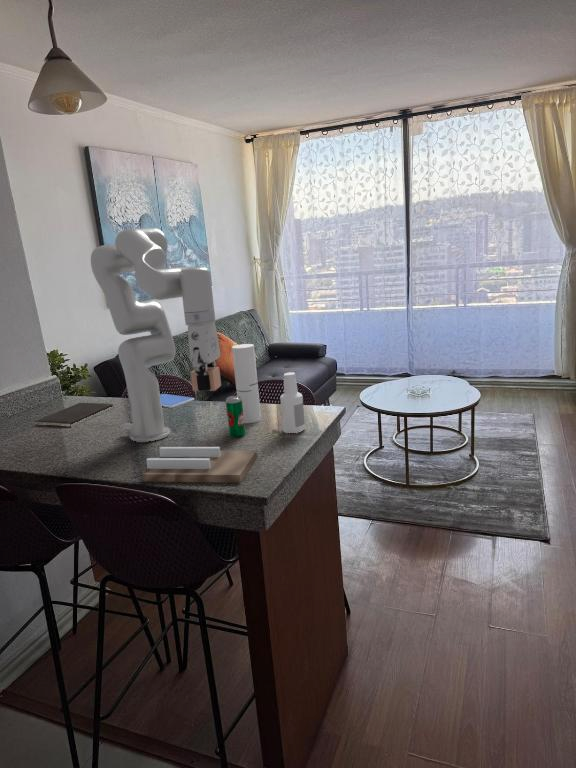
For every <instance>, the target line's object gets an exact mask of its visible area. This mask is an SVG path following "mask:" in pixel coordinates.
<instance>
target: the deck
mask: <svg viewBox="0 0 576 768" xmlns="http://www.w3.org/2000/svg"><path fill="white" fill-rule="evenodd" d="M220 453H221V456H220V457H161V456H160V457H159V458H210V464H211V468H210V469H148V468H146V470H145V471H142V473H141V478H142V479H141V480H142V482H145V483H146V482H147V481H148V482H152V483H155V482H160V483H161V482H162V483H163V482H164V483H165V482H166V483H238V484H240V483H242V482H243V480H244V478H245V477H246V475H247V474H248V472H249V471H250V470H251V468H252V467H253V465H254V463H255V461H256V460H257V458H258V453H257V450H220ZM148 482H147V483H148Z"/></svg>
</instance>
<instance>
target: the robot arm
mask: <svg viewBox="0 0 576 768" xmlns="http://www.w3.org/2000/svg"><path fill="white" fill-rule="evenodd" d="M168 247H169V246H168V239H167V237H166V234H165V233H164V232H163V231H161V230H160V229H159V228H156V227H141V228H139V227H138V228H128V229H124V230H121V231H120V232H119V233H118V234H116V237H115V239H114V243H110V244H104V245H100V246H97V247H96V248H94V249H93V250H92V252H91V254H90V267H91V270H92V274H93V276H94V278H95V280H96V282H97V284H98V285H99V287H100V289H101V290H102V292H103V294H104V297H105V300H106V303H107V306H108V309H109V312H110V317H111V319H112V322H113V324H114V325H113V326H114V328H115V330H116V332H118V334H120V335H122V336H130V335H137V334H141V333H146V332H147V333H150V334H148V335H141V336H138V337H133V338H132V337H130V338H128V339H126V340H124V341H123V342H121V343H120V344H119V347H118V349H117V354H118V359H119V361H120V364H121V367H122V370H123V374H124V378H125V383H126V389H127V396H128V402H129V408H130V414H131V421H132V423H130V422H129V423H128V422H127V423H123V424H122V431H123V432H130V433H129V440H130V439H131V440H130V441H132V440H133V441H132V442H134V441H136V442H135V443H150V442H149V441H151V442H154V441H155V440H156V441H159V440H162V439H164V438H166V437H168V436H170V434H171V429H170V427H168V426H165V421H164V420H165V419H164V412H163V407H162V405H161V398H160V394H161V393H160V386H159V380H158V379H157V377H156V375H155V374H154V373H153V372H152V371H151V370H150V369H149V368H150V367H154V366H157V365H162V364H166V363H169V362H171V361H173V360H174V359H175V356H176V353H177V352H176V351H177V350H176V344H175V340H174V336H173V334H172V332H171V328H170V325H169V324H170V323H169V322H168V318H167V315H166V313H165V310H164V308H163V306H162V305H161V304H160V303H159V302H157V301H156V300H159V301H162V300H163V301H164V300H169V299H170V300H171V299H178V298H182V305H183V313H184V322H185V326H187V338H188V349H189V350H188V351H189V358H190V362H191V363H192V366H191V367H192V368H193V370H195V372H196V376H197V385H198V390H199V391H198V392H207V391H208V392H209V390H210V389H211V387H210V379H209V375H207V367H217V363H216V362H217V360H218V359H219V358H220V357H221V350H220V348H221V347H220V343H219V337H218V330H217V327H216V314H215V304H214V296H213V288H212V287H213V286H212V279H211V272H210V270H209V268H207V267H204V266H203V267H202V266H200V267H199V266H198V267H197V266H196V267H191V266H181V267H170V268H164V267H165V264H166V260H167V258H166V257H167V256H166V253H167V252H168ZM131 272H134V275H135V280H136V283H137V284H138V286H139V288H140V289H141V290H142V291H143V292H145V294H147V295H148V296H149V297H150V298H152V299H155V300H144V301H138V300H137V298H136V295H135V292H134V289H133V287H132V286H131V284H130V283H129V282H128V281H127V280H126V279H125V278H124V277H122V276H121V275H119V273H131ZM203 368H204V369H203Z"/></svg>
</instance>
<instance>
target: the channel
mask: <svg viewBox="0 0 576 768" xmlns="http://www.w3.org/2000/svg"><path fill="white" fill-rule="evenodd" d="M158 450H159V455H160V457H220V456H221V453H220V451H221V447H220V446H161V447H159V449H158ZM160 457H150V458H149V457H147V458H146V467H147V469H210V468H211V464H210V458H160Z"/></svg>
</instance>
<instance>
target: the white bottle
mask: <svg viewBox="0 0 576 768" xmlns="http://www.w3.org/2000/svg"><path fill="white" fill-rule="evenodd" d="M283 392H284V393H282V394H281V395H280V396H279V397H280V398H279V399H280V410H281V412H280V413H281V422H282V423H281V424H282V431H283V432H284V433H285V434H288V433H289V434H288V435H290V433H296V434H299V433H298V432H301V431H303V430H304V429H305V430H306V422H305V412H304V411H305V410H304V397H303V394H302V393H301V392H299V391H298V383H297V379H296V373H295V372H293V371H292V372H291V371H290V372H285V373H284V374H283ZM305 430H304V431H305ZM304 431H303V432H304ZM301 433H302V432H301Z"/></svg>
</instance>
